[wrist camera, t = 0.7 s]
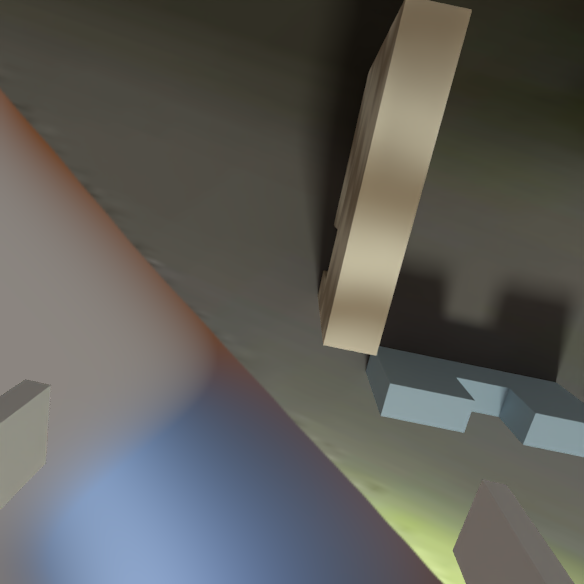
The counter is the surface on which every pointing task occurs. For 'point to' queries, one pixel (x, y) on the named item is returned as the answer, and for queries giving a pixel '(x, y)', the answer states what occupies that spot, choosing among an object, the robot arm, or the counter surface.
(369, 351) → the birch plate
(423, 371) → the blue board
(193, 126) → the counter surface
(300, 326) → the counter surface
